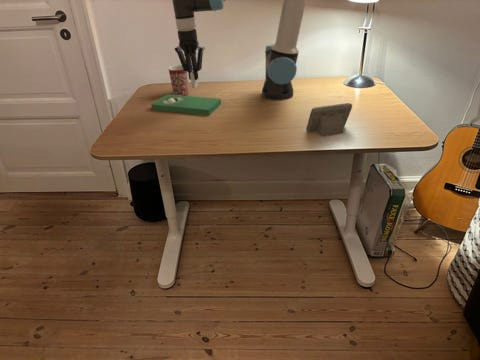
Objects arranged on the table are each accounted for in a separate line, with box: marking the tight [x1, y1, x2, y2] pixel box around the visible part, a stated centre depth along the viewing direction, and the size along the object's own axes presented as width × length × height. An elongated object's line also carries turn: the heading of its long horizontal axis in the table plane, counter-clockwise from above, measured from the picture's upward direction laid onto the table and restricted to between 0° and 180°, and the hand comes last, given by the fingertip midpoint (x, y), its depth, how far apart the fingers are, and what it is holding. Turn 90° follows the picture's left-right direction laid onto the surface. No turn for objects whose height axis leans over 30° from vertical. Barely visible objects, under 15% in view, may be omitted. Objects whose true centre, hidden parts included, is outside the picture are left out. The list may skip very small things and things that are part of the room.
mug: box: [167, 64, 189, 96], centre depth 171 cm, size 13×9×14 cm
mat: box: [151, 93, 222, 116], centre depth 158 cm, size 28×14×2 cm, turn 71°
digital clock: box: [305, 102, 353, 137], centre depth 129 cm, size 16×9×11 cm, turn 93°
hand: (195, 86), depth 153 cm, fingers closed
